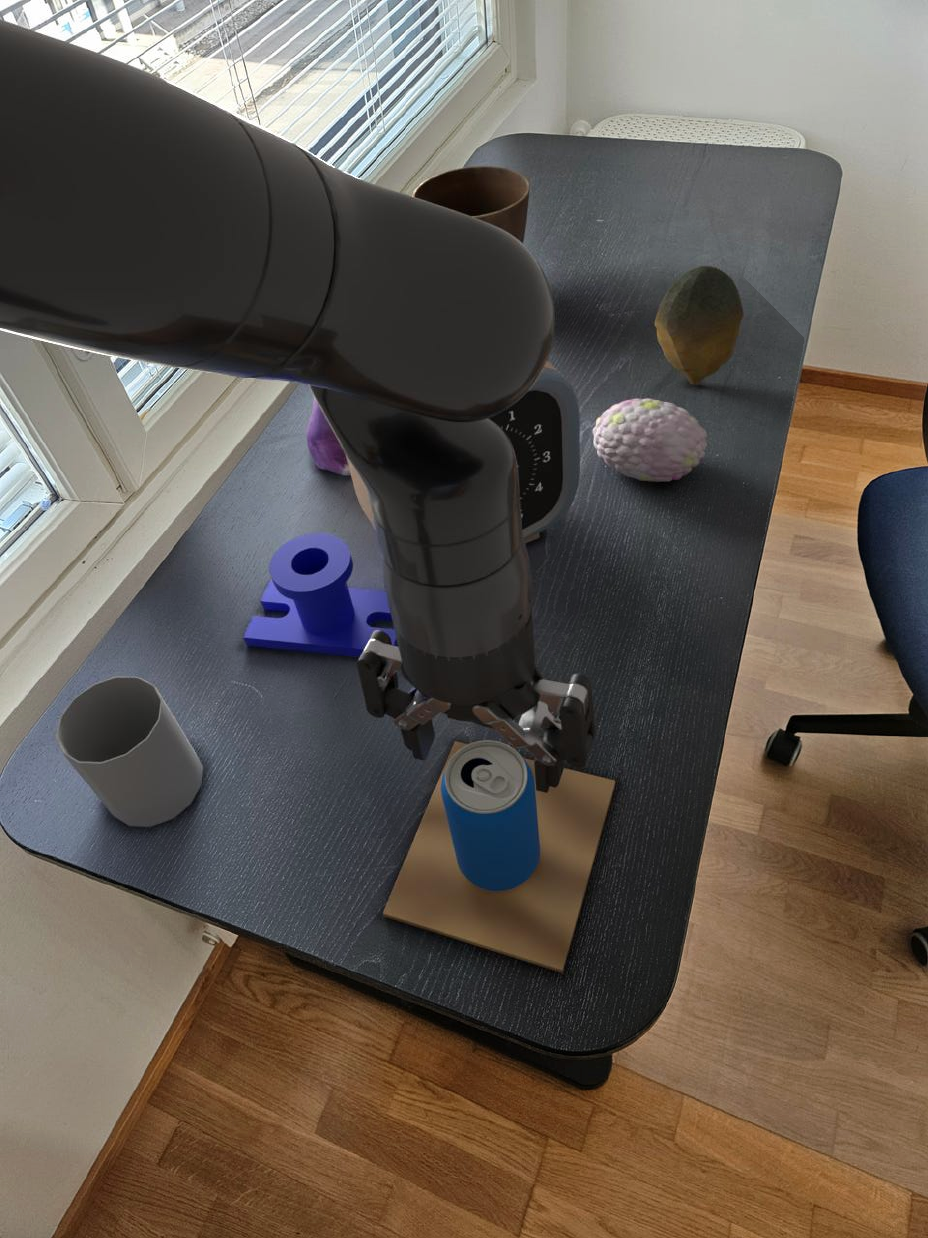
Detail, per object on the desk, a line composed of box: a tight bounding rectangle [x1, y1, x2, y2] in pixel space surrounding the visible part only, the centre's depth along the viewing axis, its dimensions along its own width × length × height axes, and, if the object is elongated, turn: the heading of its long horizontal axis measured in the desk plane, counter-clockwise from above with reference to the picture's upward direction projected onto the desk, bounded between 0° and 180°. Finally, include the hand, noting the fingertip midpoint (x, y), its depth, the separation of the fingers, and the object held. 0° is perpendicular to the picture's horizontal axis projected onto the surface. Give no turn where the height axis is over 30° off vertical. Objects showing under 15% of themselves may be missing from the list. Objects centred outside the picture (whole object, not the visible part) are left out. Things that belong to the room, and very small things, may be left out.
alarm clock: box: [346, 360, 581, 544], centre depth 86 cm, size 21×10×22 cm, turn 115°
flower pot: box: [411, 165, 531, 244], centre depth 118 cm, size 15×15×16 cm
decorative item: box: [592, 397, 708, 483], centre depth 95 cm, size 9×11×10 cm
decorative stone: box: [654, 265, 744, 386], centre depth 102 cm, size 10×6×15 cm, turn 73°
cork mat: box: [382, 740, 616, 974], centre depth 70 cm, size 16×14×1 cm
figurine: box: [305, 384, 351, 476], centre depth 100 cm, size 9×10×15 cm
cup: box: [55, 675, 204, 828], centre depth 74 cm, size 8×8×10 cm
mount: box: [242, 532, 398, 658], centre depth 84 cm, size 15×8×9 cm, turn 78°
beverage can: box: [441, 739, 540, 891], centre depth 64 cm, size 6×6×12 cm
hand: (484, 764), depth 59 cm, fingers open, 8 cm apart
